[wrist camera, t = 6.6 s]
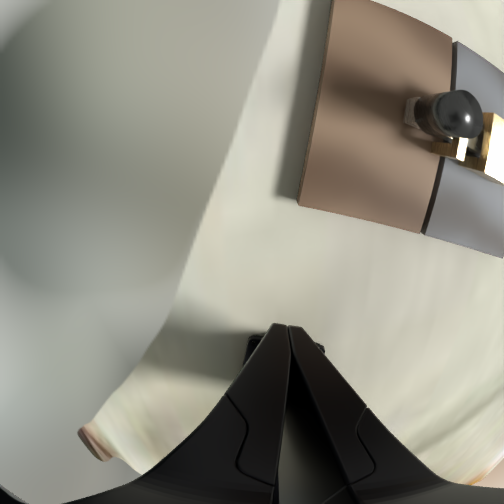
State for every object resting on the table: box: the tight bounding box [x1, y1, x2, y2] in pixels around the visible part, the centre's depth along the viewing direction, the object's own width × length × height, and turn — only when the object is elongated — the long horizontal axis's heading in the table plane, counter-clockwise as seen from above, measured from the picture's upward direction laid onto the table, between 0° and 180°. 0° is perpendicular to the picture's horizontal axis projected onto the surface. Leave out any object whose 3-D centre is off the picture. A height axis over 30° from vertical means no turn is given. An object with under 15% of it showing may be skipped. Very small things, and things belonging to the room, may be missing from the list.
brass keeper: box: [430, 112, 504, 186], centre depth 13 cm, size 4×7×3 cm, turn 81°
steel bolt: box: [403, 90, 484, 158], centre depth 11 cm, size 2×8×5 cm, turn 81°
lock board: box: [297, 0, 504, 259], centre depth 15 cm, size 15×19×2 cm
